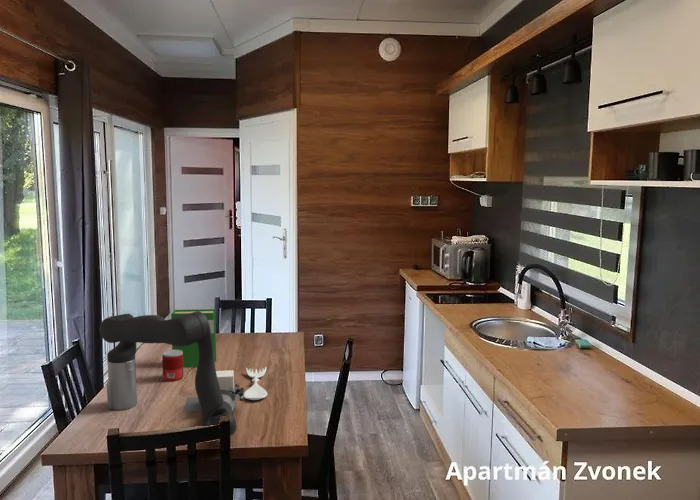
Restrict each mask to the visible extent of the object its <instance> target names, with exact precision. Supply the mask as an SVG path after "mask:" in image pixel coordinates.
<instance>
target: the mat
mask: <svg viewBox="0 0 700 500" xmlns="http://www.w3.org/2000/svg"><path fill="white" fill-rule="evenodd" d="M184 404H185V405H184V406H183V407H184V408H183V412H182V413H184V414H185V413H199V412H200V413H201V408H200V403H199V400H198V396H195V397H187V398H186V402H185V403H184ZM236 407H237V399H235V400H234V406H233V411H234V410H236V409H237V408H236Z"/></svg>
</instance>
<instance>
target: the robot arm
mask: <svg viewBox="0 0 700 500" xmlns="http://www.w3.org/2000/svg"><path fill="white" fill-rule="evenodd" d="M99 334H100V336H101V338H102V339H103V340H104V341H105V342H107V343H109V344H114V343H118V344H117V345H116V346H115V347H113V348H111V349H110V350H109V351H108V352H107V355H106V356H107V357H106V358H107V360H106V361H107V379H108V381H107V383H106V392H107V393H106V394H107V396H106V397H107V409H108V410H109V409H110V410H114V411H123V410H129V409H131V408H133V407H135V406H137V405H138V392H137V390H138V389H137V368H136V367H137V366H136V352H137V343H142V344H166V345H171V346H172V345H175V346H180V347H183V346H188V345H191V344H194V343H196V342H197V345H198V350H199V361H198V367H196V372H195V377H194V387H195V388H194V389H195V392H196V395H197V396H196V397H198V400H199V403H200V408H201V412H200V413H201V415H200V416H201V418H200V419H201V420H200V421H201V422H200V423H201V425H200V426H210V425H218V424H219V421H220V417H221V416H229V417H230V436H229V437H231V436H233V435H234V434H235V433H236V431H237V427H238V426H237V422H236V419H235V417H234V415H233V411H234V410H233V404H234V400H235V399H236V400H237V399H238V400H239V401H241V402H242V401H243V400H244V398H245V397H244V392H245V387H240V385H239V384H238V383H234V389H233V388H231V389H230V390H221V389H220V386H219V382H218V379H217V375H216V371H217V370H216V364H215V363H216V362H214V353H213V344H212V337H211V330H210V325H209V322H208V319H207V317H206V316H205V315H204V314H203V313H202V312H199V311H198V312H193V313H189V314H186V315H182V316H179V317H176V318H173V319H171V318H170V319H165V318H164V317H162V316H161V315H158V314H157V315H156V314H146V315H144V314H143V315H138V316H133V315H132V314H131V313H124V314H123V313H122V314H119V315H118V314H117V315H113V316H109V317H106V318H105V319H103V320H102V321H101V322H100V324H99ZM213 442H215V441H211V442H210V443H213Z"/></svg>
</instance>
